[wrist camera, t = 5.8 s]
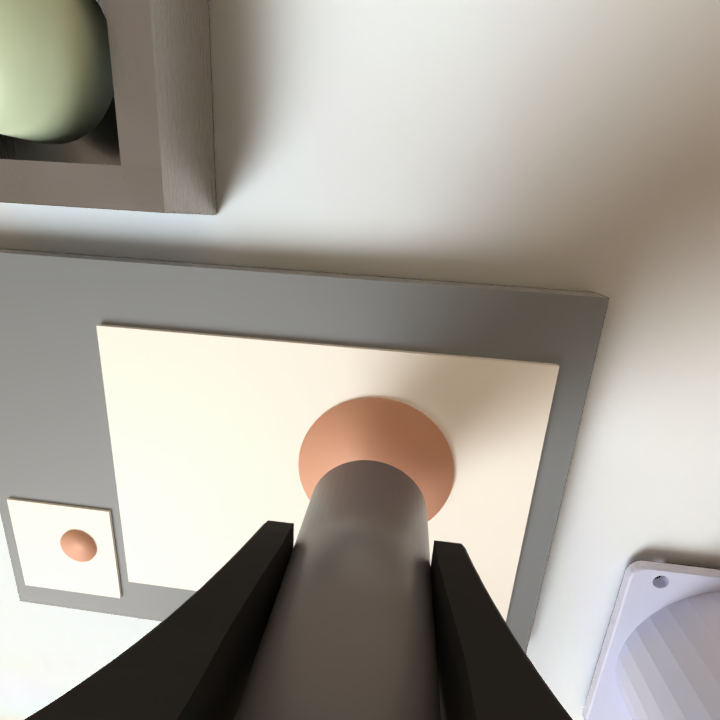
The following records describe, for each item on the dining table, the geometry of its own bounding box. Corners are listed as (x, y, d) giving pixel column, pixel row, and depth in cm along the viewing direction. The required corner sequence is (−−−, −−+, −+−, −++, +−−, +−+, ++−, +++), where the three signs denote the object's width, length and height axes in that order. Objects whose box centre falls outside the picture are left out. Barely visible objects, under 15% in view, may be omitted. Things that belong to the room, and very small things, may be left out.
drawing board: (594, 292, 13) (614, 299, 12) (515, 647, 17) (523, 680, 16) (-29, 246, 15) (-69, 248, 13) (39, 581, 19) (13, 607, 18)
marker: (438, 464, 11) (500, 956, 4) (423, 569, 12) (449, 1122, 5) (309, 450, 12) (121, 882, 4) (304, 554, 13) (151, 1055, 5)
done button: (106, -45, 10) (35, -109, 8) (125, 148, 11) (66, 132, 9) (-55, -47, 10) (-160, -109, 8) (-20, 140, 12) (-105, 124, 10)
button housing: (205, -71, 11) (137, -171, 8) (216, 215, 13) (164, 212, 11) (-44, -73, 12) (-187, -167, 9) (4, 201, 14) (-99, 196, 11)
